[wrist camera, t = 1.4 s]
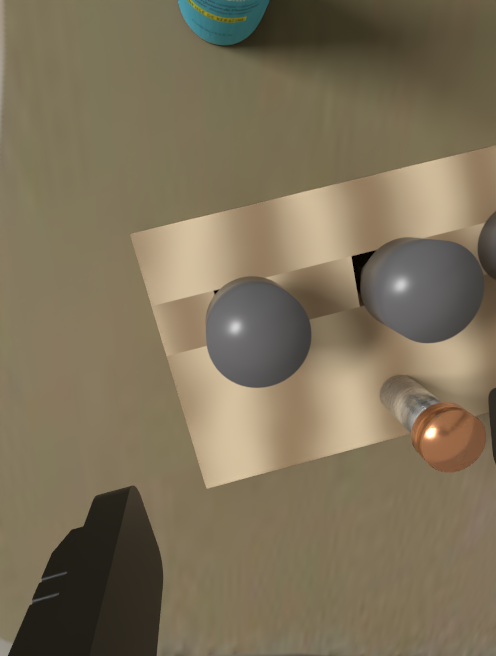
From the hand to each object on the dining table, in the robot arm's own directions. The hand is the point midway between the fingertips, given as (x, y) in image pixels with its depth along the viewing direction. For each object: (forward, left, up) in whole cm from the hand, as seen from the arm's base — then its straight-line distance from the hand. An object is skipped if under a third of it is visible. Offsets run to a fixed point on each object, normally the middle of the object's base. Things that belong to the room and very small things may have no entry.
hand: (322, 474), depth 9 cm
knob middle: (-8, 0, -17) cm, 19 cm away
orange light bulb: (-8, +7, -16) cm, 20 cm away
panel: (-8, +2, -20) cm, 22 cm away
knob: (0, 0, -17) cm, 17 cm away
